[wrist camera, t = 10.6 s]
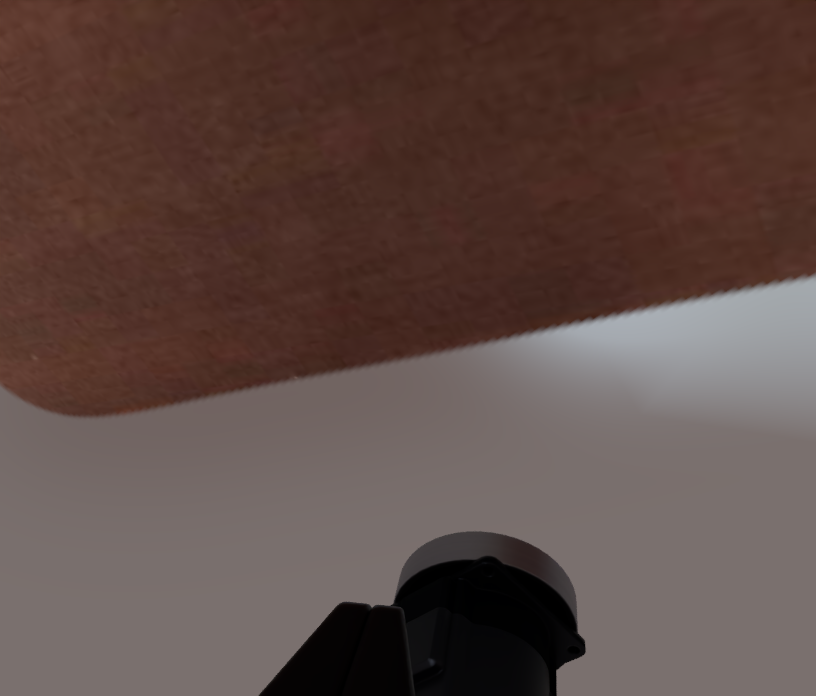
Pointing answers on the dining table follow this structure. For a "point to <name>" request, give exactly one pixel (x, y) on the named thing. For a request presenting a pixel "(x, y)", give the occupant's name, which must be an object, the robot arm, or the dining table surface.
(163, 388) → the dining table surface
